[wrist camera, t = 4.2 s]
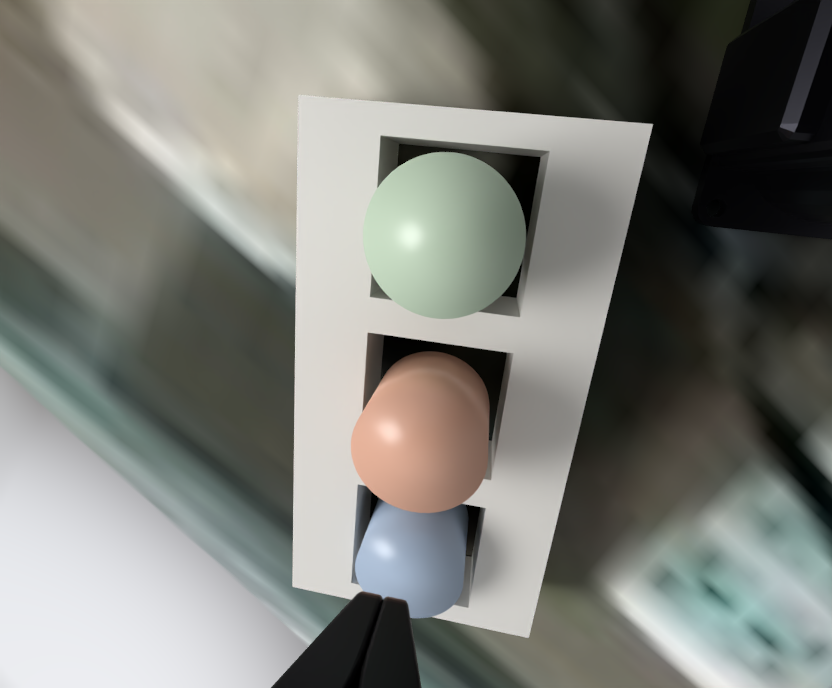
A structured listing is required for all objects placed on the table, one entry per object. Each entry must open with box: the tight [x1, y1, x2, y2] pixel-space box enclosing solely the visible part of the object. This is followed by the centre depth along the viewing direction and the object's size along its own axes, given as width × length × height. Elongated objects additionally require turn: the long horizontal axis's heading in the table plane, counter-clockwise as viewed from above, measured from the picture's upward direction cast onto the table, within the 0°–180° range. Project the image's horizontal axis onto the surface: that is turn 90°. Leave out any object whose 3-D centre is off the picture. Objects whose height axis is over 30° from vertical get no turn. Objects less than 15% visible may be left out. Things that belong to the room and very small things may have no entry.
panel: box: [293, 95, 653, 638], centre depth 16 cm, size 9×17×2 cm, turn 174°
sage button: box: [363, 152, 526, 319], centre depth 12 cm, size 4×4×3 cm
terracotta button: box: [351, 351, 490, 513], centre depth 13 cm, size 4×4×3 cm
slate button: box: [355, 498, 469, 618], centre depth 17 cm, size 4×4×3 cm
